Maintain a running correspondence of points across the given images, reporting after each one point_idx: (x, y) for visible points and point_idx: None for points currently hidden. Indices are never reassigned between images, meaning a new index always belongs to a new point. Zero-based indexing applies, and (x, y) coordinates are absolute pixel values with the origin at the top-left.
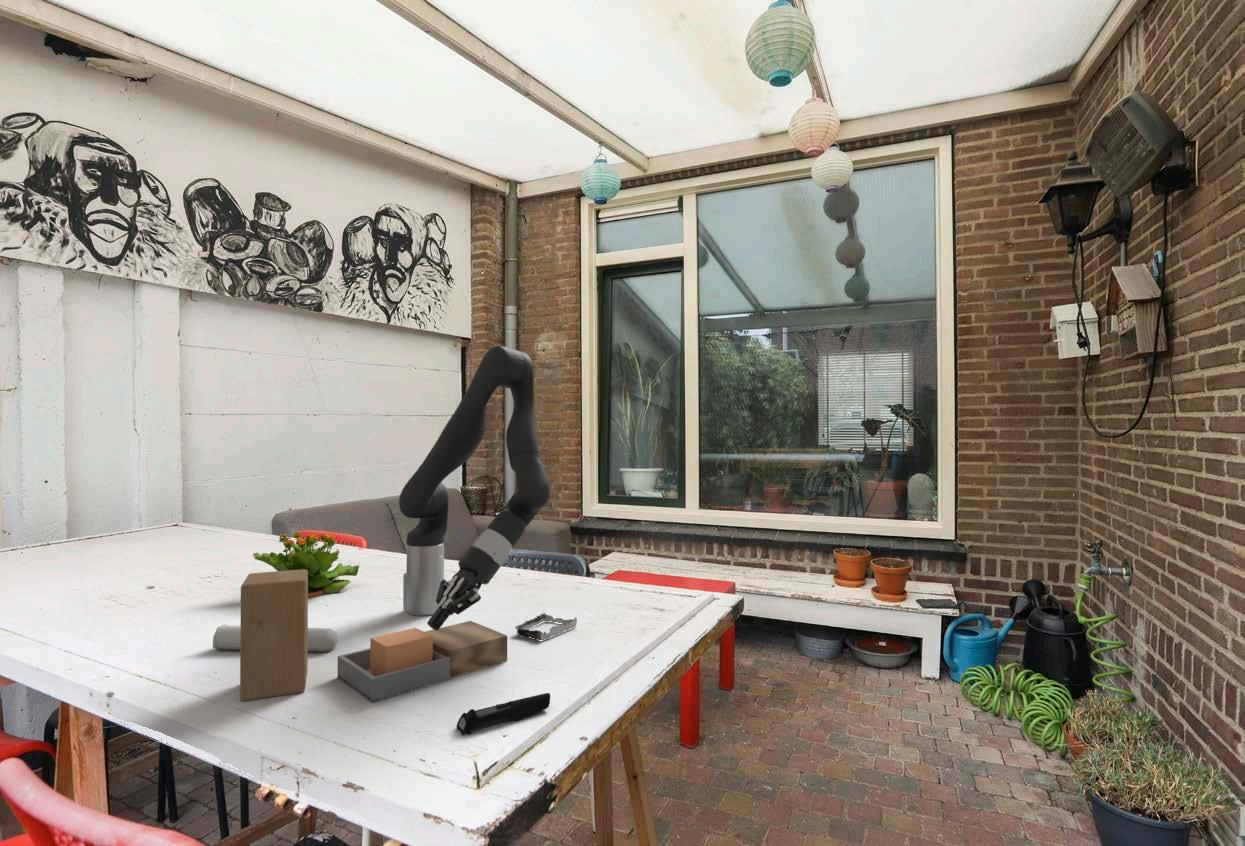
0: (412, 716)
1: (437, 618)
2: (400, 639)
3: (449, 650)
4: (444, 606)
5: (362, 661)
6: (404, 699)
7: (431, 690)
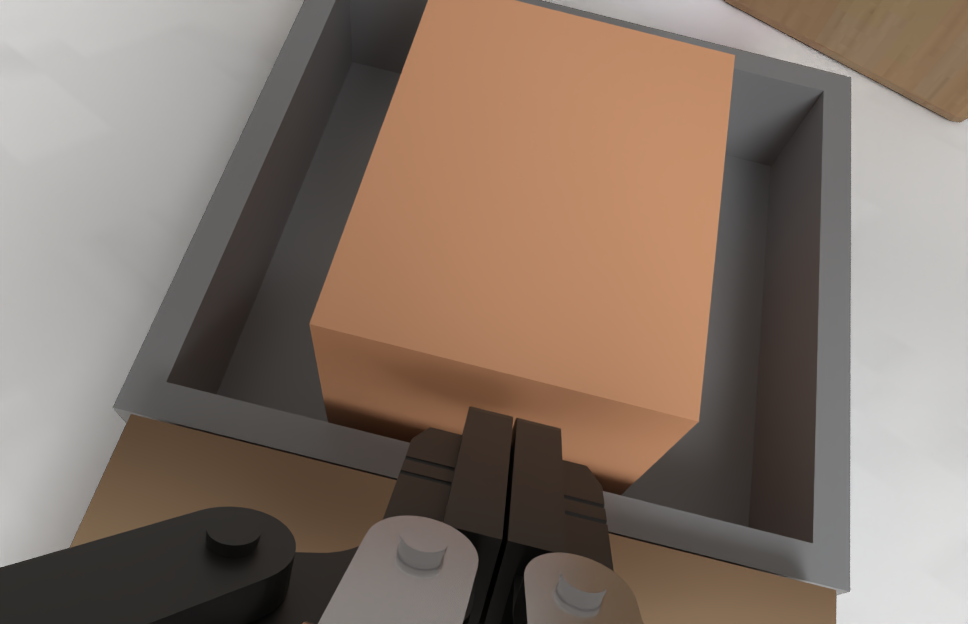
0: (23, 34)
1: (448, 473)
2: (495, 124)
3: (138, 427)
4: (410, 537)
5: (788, 228)
6: (215, 136)
7: (155, 280)
